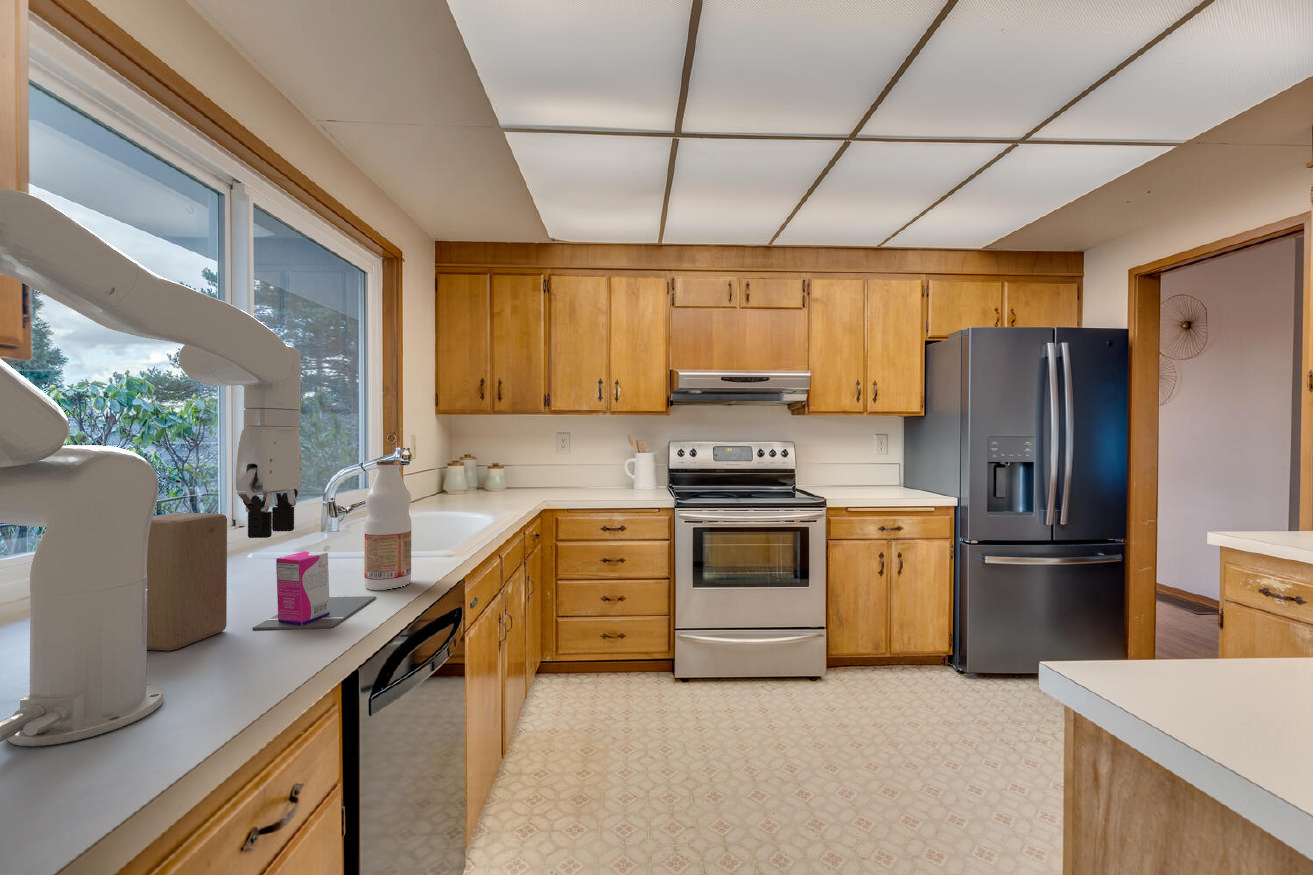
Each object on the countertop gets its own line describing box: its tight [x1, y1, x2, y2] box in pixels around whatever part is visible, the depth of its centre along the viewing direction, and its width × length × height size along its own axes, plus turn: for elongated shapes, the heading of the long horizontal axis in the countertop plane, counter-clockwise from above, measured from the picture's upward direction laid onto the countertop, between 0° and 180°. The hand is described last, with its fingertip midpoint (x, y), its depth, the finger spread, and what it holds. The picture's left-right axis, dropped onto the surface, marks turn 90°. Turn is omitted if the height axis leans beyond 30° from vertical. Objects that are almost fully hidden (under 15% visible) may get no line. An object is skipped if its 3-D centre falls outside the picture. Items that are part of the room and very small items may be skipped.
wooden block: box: [147, 512, 228, 652], centre depth 89 cm, size 10×10×20 cm
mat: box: [252, 595, 377, 631], centre depth 104 cm, size 18×13×1 cm
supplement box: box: [275, 550, 330, 626], centre depth 98 cm, size 6×6×12 cm
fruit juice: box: [363, 459, 413, 591], centre depth 123 cm, size 9×9×28 cm
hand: (271, 533), depth 89 cm, fingers open, 5 cm apart
